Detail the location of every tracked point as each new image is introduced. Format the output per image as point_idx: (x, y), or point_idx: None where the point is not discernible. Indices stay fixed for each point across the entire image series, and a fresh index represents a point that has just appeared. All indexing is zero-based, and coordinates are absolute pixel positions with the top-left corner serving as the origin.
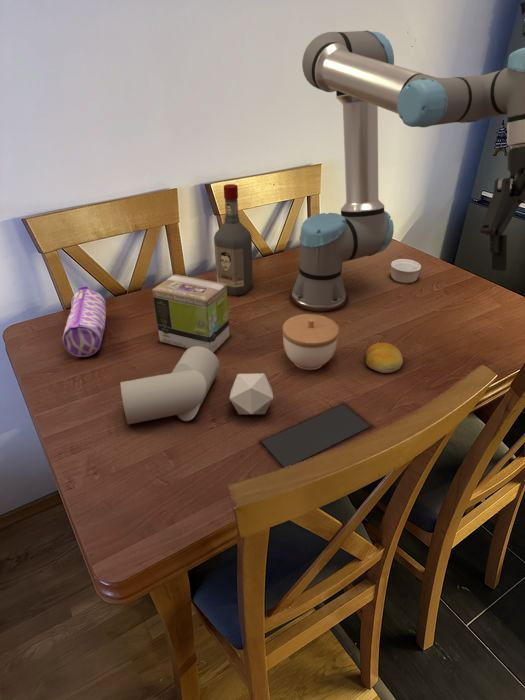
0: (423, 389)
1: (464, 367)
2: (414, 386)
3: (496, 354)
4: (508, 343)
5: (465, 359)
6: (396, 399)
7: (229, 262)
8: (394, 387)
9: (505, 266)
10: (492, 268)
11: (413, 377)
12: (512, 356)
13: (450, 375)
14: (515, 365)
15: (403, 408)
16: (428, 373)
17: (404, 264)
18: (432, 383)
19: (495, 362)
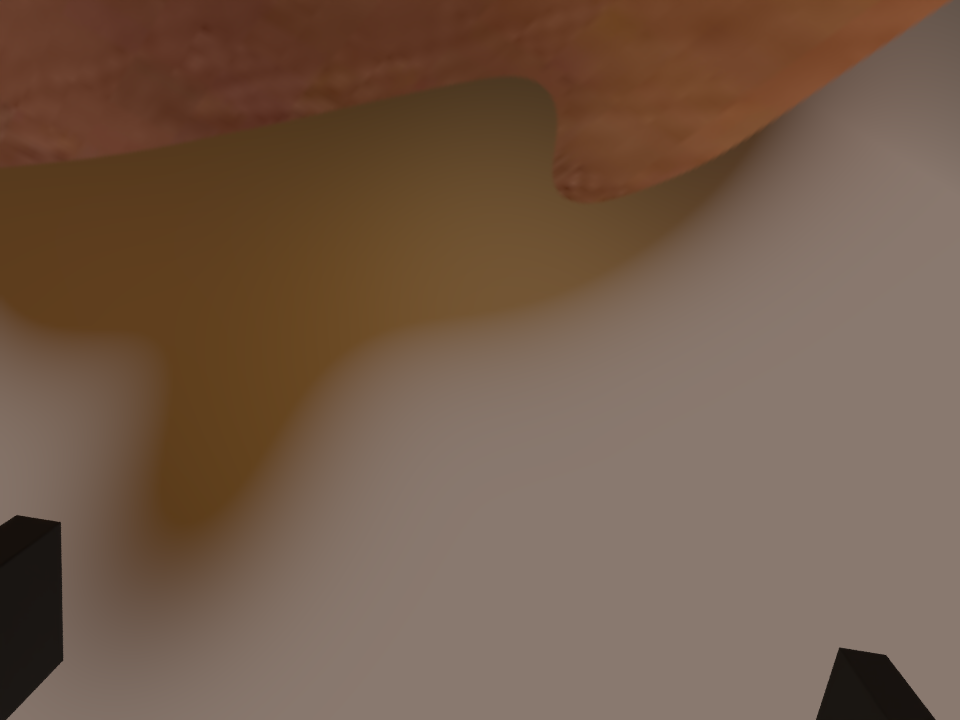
0: (149, 105)
1: (431, 72)
2: (121, 67)
3: (663, 71)
4: (818, 26)
5: (489, 21)
6: (4, 99)
7: None
8: (26, 25)
9: (24, 687)
10: (6, 528)
11: (149, 7)
12: (712, 125)
13: (326, 87)
14: (652, 183)
15: (11, 158)
16: (237, 19)
17: None
18: (211, 91)
19: (596, 119)
